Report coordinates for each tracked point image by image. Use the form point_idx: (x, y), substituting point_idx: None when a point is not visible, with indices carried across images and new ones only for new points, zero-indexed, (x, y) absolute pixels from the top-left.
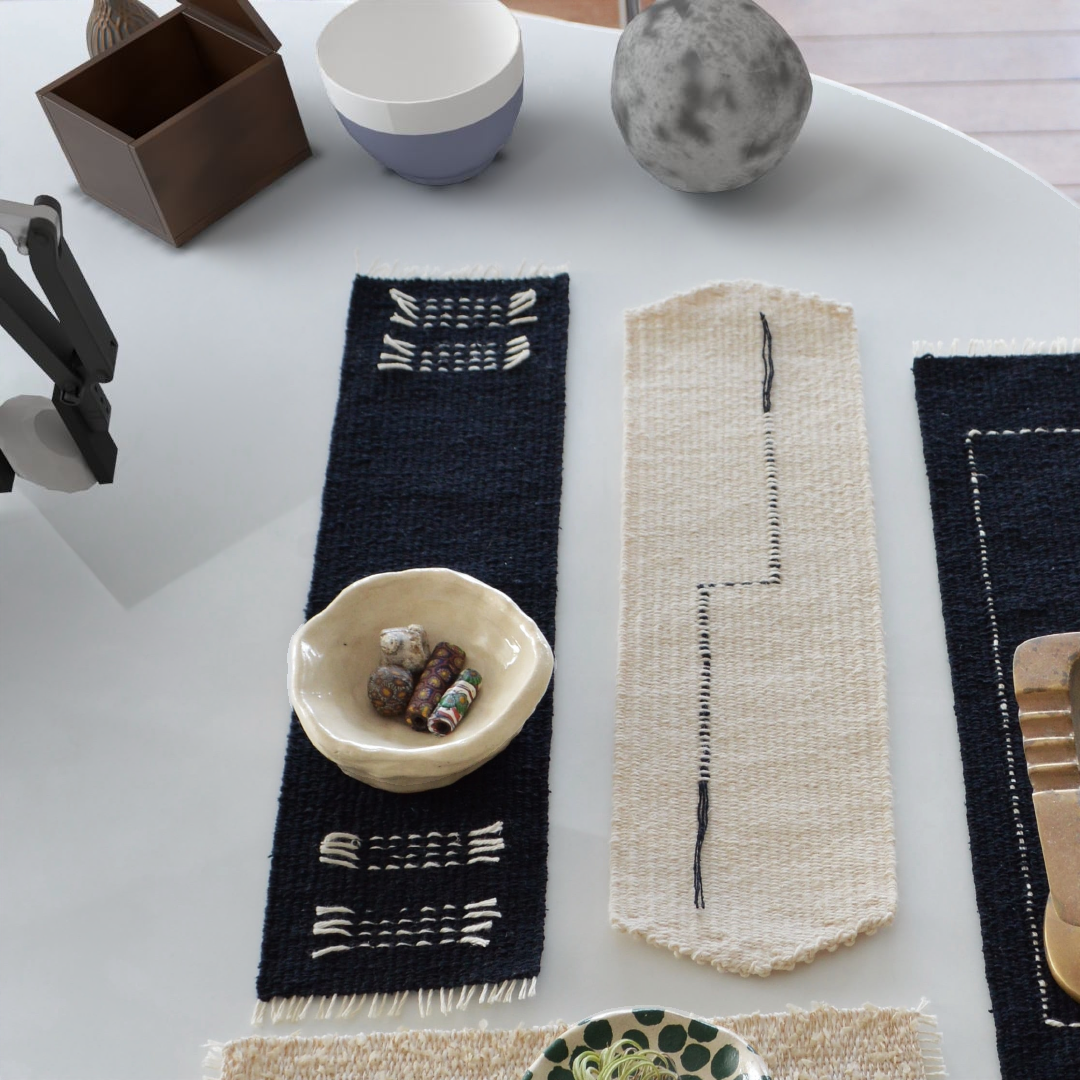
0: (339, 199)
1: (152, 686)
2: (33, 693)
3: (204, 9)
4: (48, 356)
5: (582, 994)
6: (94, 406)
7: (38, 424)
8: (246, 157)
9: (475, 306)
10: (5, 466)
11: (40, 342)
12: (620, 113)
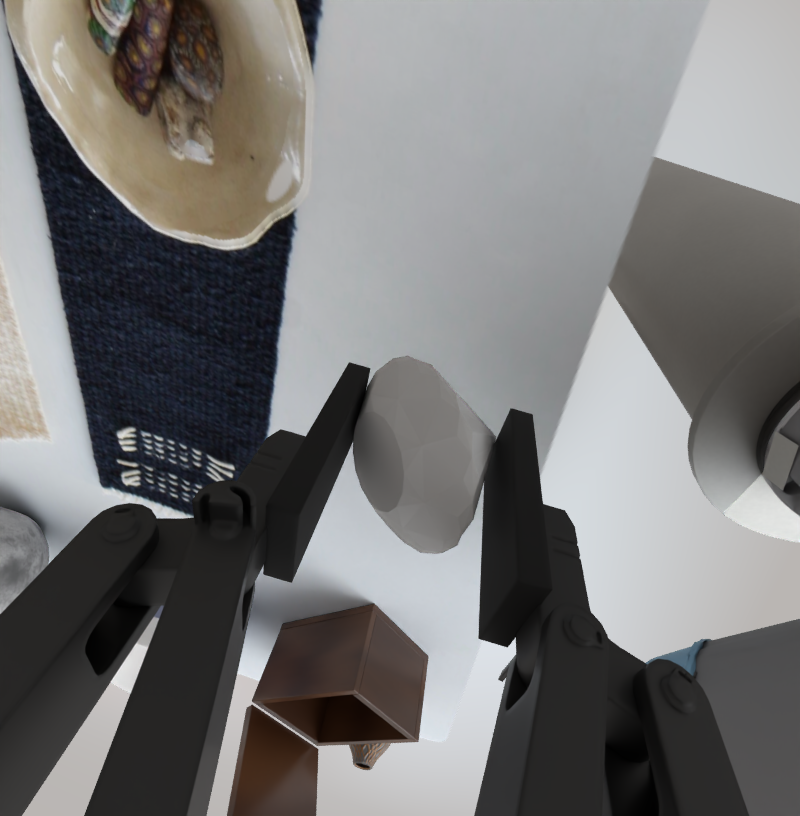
0: (265, 592)
1: (471, 179)
2: (605, 224)
3: (294, 744)
4: (175, 634)
5: None
6: (250, 473)
7: (397, 487)
8: (308, 642)
9: (165, 487)
10: (501, 449)
11: (137, 697)
12: (1, 582)
